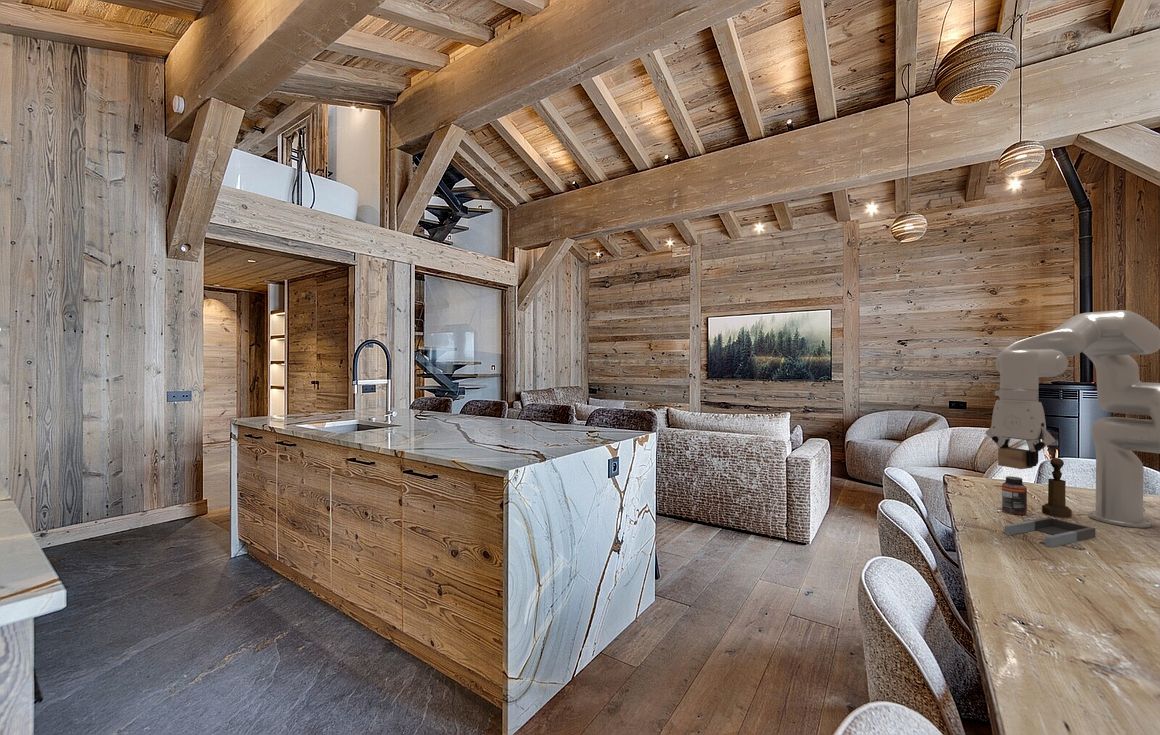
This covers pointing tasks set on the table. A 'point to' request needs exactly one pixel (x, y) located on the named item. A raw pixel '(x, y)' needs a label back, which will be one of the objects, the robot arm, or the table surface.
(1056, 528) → the grey u-shaped bracket
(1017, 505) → the supplement bottle
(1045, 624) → the table surface
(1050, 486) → the pepper mill
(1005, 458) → the walnut block
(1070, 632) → the table surface
